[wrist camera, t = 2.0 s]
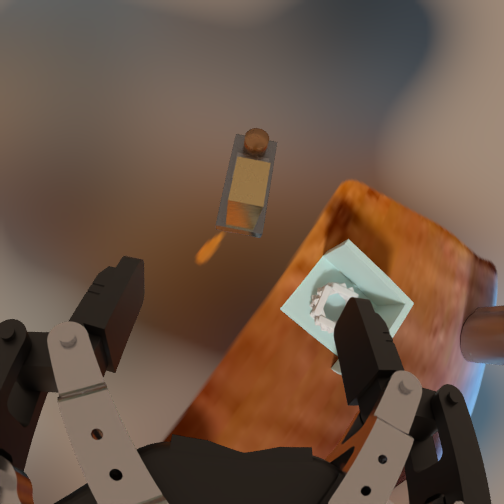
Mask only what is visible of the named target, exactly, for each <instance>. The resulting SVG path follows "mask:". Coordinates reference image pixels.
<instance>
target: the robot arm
mask: <svg viewBox="0 0 504 504" xmlns="http://www.w3.org/2000/svg"><path fill="white" fill-rule="evenodd" d="M143 300H144V261H143V260H142V259H137V258H132V257H128V256H123V257H122V259H121V260H120V262H119V264H118V265H117V267H116V268H114V267H110V266H109V267H107V268H106V269H104V270H103V271H102V272H100V273H99V274H98V275H97V277H96V278H95V280H94V281H93V284H92V285H91V286H90V288H89V289H88V292H86V294H85V295H84V297H83V299H82V300H81V302H80V304H79V305H78V307H77V308H76V310H75V312H74V313H73V315H72V317H71V318H70V320H69V321H68V322H63V323H60V324H58V325H56V326H55V327H53V328H52V330H51V331H50V332H27V330H26V328H25V326H24V324H23V323H22V322H20V321H18V320H15V319H10V320H5V321H3V322H1V323H0V504H34V502H33V497H32V484H31V481H30V479H29V477H28V476H27V474H26V473H25V472H24V468H25V464H26V460H27V456H28V452H29V449H30V445H31V442H32V438H33V435H34V432H35V429H36V425H37V422H38V419H39V416H40V413H41V410H42V407H43V404H44V402H45V399H46V396H47V393H48V392H58V393H59V397H58V405H59V409H60V412H61V415H62V419H63V422H64V425H65V428H66V431H67V434H68V436H69V439H70V442H71V445H72V447H73V450H74V453H75V455H76V457H77V460H78V463H79V465H80V467H81V469H82V472H83V474H84V476H85V479H86V481H87V484H85V485H84V486H82V487H80V488H79V489H77V490H76V491H74V492H72V493H71V494H69V495H68V496H66V497H64V498H63V499H61V500H59V501H57V502H56V503H54V504H386V503H387V501H388V499H389V497H390V495H391V493H392V491H393V489H394V487H395V485H396V483H397V480H398V478H399V476H400V474H401V472H402V469H403V467H404V466H405V473H406V480H407V488H408V496H409V504H491V500H490V493H489V488H488V483H487V478H486V473H485V469H484V464H483V460H482V456H481V452H480V448H479V445H478V441H477V437H476V434H475V431H474V427H473V424H472V421H471V418H470V415H469V412H468V409H467V406H466V403H465V400H464V397H463V395H462V393H461V392H460V391H459V390H458V389H457V388H456V387H455V386H453V385H450V384H446V385H443V386H442V387H441V388H440V389H439V390H438V391H437V392H436V391H432V390H429V389H425V388H422V386H421V384H420V382H419V380H418V379H417V378H416V377H415V376H414V375H413V374H411V373H410V372H407V371H404V368H403V366H402V363H401V360H400V357H399V355H398V352H397V349H396V347H395V344H394V343H393V339H392V337H391V335H390V332H389V329H388V327H387V324H386V322H385V321H384V320H383V319H382V317H381V316H380V315H379V314H378V313H375V311H374V308H373V306H372V304H371V301H370V300H369V299H363V298H356V297H351V298H350V299H349V300H348V302H347V304H346V305H345V307H344V309H343V311H342V313H341V315H340V317H339V319H338V321H337V322H336V325H335V328H334V341H335V346H336V350H337V355H338V359H339V364H340V369H341V373H342V378H343V383H344V388H345V393H346V398H347V403H348V405H359V409H360V410H359V411H358V412H357V413H356V415H355V417H354V418H353V420H352V422H351V423H350V425H349V427H348V428H347V430H346V432H345V433H344V435H343V437H342V438H341V440H340V441H339V443H338V444H337V446H336V447H335V449H334V450H333V451H332V452H331V453H330V454H329V455H328V456H327V458H326V459H325V460H324V459H322V458H319V457H316V456H312V447H277V448H272V449H266V450H260V451H254V452H248V453H243V452H239V451H236V450H233V449H230V448H227V447H224V446H221V445H219V444H216V443H213V442H211V441H208V440H202V439H196V438H190V437H184V436H179V435H174V434H172V439H171V442H160V443H154V444H150V445H146V446H144V447H141V448H139V449H137V450H136V448H135V446H134V444H133V442H132V440H131V439H130V436H129V435H128V432H127V430H126V428H125V426H124V424H123V422H122V420H121V418H120V416H119V413H118V411H117V409H116V407H115V404H114V402H113V400H112V398H111V395H110V393H109V390H108V388H107V386H106V384H105V382H104V379H103V377H104V375H105V372H106V370H107V371H110V372H113V373H115V372H116V369H117V367H118V364H119V362H120V359H121V356H122V354H123V351H124V349H125V346H126V343H127V341H128V338H129V336H130V333H131V331H132V328H133V326H134V323H135V321H136V319H137V316H138V314H139V312H140V309H141V307H142V304H143ZM461 351H462V354H463V356H464V358H465V359H466V360H467V361H470V362H475V363H485V364H495V365H504V306H494V307H483V308H477V309H476V311H475V313H473V314H472V315H470V316H469V317H468V319H467V320H466V322H465V324H464V326H463V329H462V333H461ZM437 431H438V433H439V437H440V441H441V445H442V450H443V454H442V457H441V459H440V460H439V461H438V459H437V454H436V449H435V445H434V441H433V436H432V435H433V434H434V433H436V432H437Z"/></svg>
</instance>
